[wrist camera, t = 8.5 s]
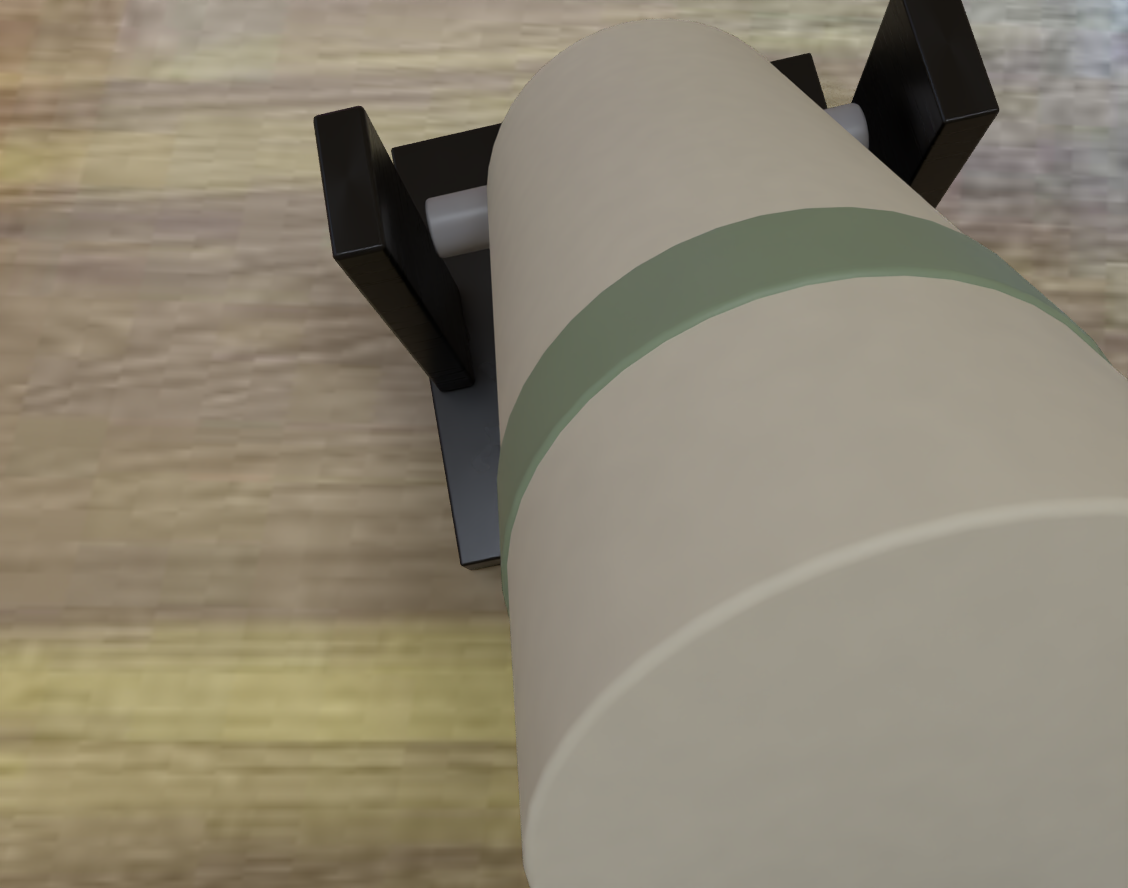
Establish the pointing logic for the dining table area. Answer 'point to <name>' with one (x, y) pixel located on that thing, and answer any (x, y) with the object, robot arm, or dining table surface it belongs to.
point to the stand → (463, 283)
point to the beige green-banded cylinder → (788, 500)
